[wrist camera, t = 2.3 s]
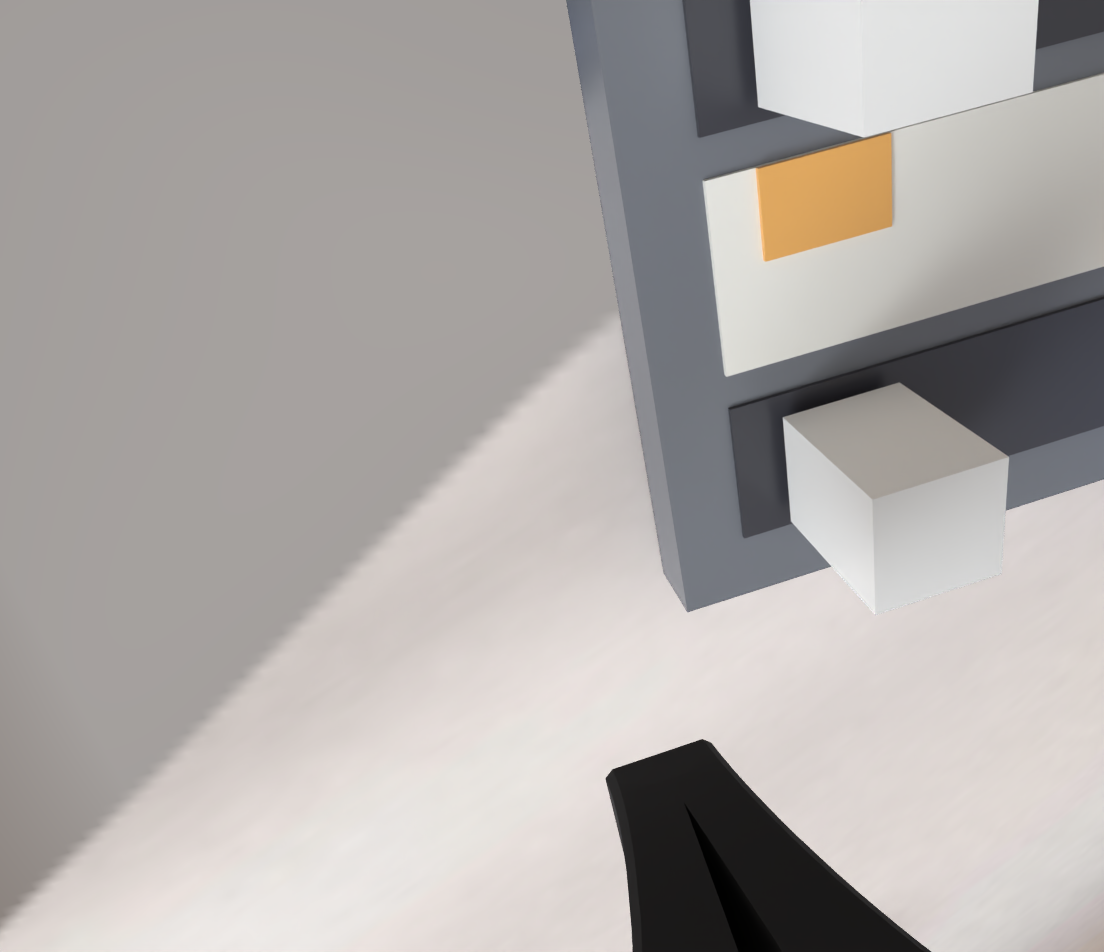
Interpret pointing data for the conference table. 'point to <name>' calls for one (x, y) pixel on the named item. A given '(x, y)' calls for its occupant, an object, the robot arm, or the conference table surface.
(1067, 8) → the dip bank
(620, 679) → the conference table surface
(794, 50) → the switch
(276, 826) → the conference table surface
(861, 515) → the switch
